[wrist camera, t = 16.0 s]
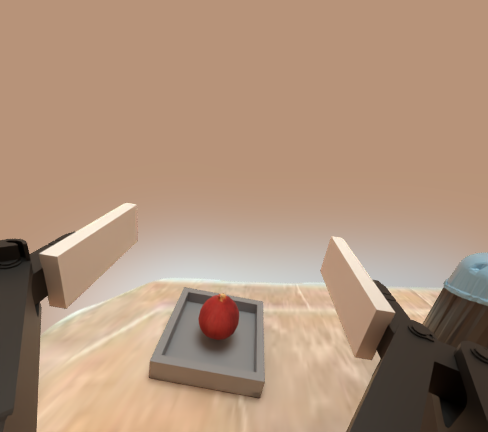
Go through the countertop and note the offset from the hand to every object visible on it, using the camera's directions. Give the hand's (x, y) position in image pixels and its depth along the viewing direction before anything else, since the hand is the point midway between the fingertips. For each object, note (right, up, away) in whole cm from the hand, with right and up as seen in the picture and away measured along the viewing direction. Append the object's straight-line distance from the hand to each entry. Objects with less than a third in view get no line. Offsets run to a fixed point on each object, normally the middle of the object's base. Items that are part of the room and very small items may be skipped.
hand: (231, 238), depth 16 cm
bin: (-4, -18, +20) cm, 27 cm away
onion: (-3, -17, +20) cm, 26 cm away
